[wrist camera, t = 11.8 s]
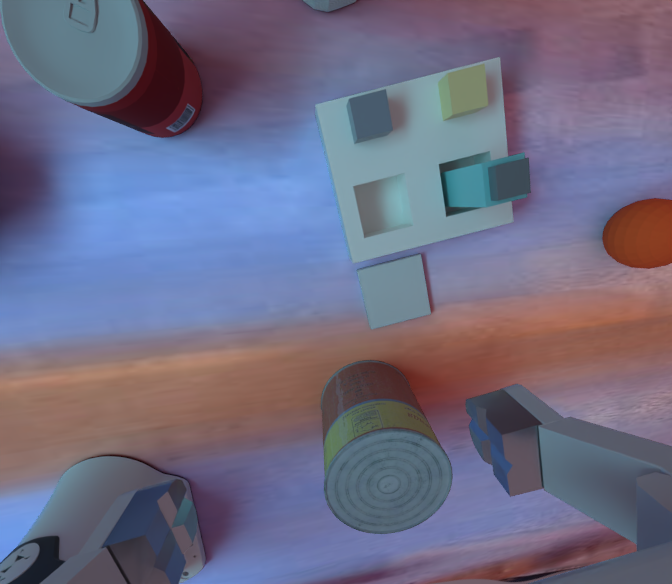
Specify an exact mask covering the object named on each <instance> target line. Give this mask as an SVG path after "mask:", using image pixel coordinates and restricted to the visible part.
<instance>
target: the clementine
mask: <svg viewBox="0 0 672 584" xmlns="http://www.w3.org/2000/svg"><path fill="white" fill-rule="evenodd" d="M602 240H603V244H604V247H605V249H606V251H607V253H608V254H609V255H610V256H611V257H612V258H613V259H615V260H616V261H617V262H619V263H622V264H624V265H627V266H630V267H635V268H648V269H649V268H654V267H660V266H665V265H668V264H670V263H672V200H667V199H657V198H654V199H647V200H642V201H637V202H635V203H632V204H630V205H628V206H626V207H623V208H622V209H620V210H619V211H618V212H616V213H615V214H614V215H613V216H612V217H611V218H610V220H609V221H608V222H607V224H606V226H605V228H604V231H603V237H602Z"/></svg>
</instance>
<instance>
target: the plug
mask: <svg viewBox="0 0 672 584" xmlns="http://www.w3.org/2000/svg"><path fill="white" fill-rule="evenodd" d="M440 177H441V184H442V191H443V198H444V205H445V207H490V206H494V205H498V204H502V203H506V202H510V201H514V200H518V199H522V198H526V197H527V193H531V190H530V174H529V158H525V153H520V154H516V155H512V156H508V157H503V158H499V159H495V160H491V161H487V162H483V163H479V164H475V165H471V166H466V167H462V168H459V169H455V170H451V171H447V172H443V173H440Z"/></svg>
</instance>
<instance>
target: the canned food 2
mask: <svg viewBox="0 0 672 584" xmlns="http://www.w3.org/2000/svg"><path fill="white" fill-rule="evenodd" d="M321 410H322V422H323V446H324V470H325V481H324V493H325V498H326V501H327V504H328V506H329V508H330V510H331V511H332V513H333V514H334V515H335V516H336V517H337V518H338V519H339V520H340V521H341V522H343V523H344V524H346V525H348V526H349V527H351V528H354V529H356V530H359V531H363V532H367V533H374V534H388V533H395V532H400V531H403V530H407V529H409V528H412V527H414V526H416V525H418V524H420V523H422V522H424V521H425V520H427V519H428V518H429V517H431V516H432V515H433V514H434V513H435V512H436V511H437V510H438V509H439V508H440V507H441V505H442V504H443V503H444V501H445V499H446V498H447V496H448V494H449V491H450V488H451V484H452V467H451V463H450V461H449V458H448V456H447V454H446V453H445V451H444V450H443V449H442V447H441V445H440V444H439V442H438V440H437V438H436V436H435V434H434V432H433V430H432V428H431V426H430V425H429V423H428V421H427V419H426V417H425V415H424V413H423V411H422V409H421V407H420V405H419V404H418V402H417V400H416V398H415V396H414V394H413V392H412V390H411V388H410V385H409V383H408V381H407V379H406V378H405V376H404V375H403V374H402V373H401V372H400V371H399V370H398V369H396V368H395V367H393V366H391V365H389V364H387V363H384V362H380V361H373V360H366V361H359V362H355V363H352V364H349V365H347V366H345V367H343V368H342V369H340V370H339V371H337V372H336V373H335V374H334V375H333V376H332V377H331V378H330V379H329V381H328V382H327V384H326V385H325V388H324V390H323V393H322V397H321Z"/></svg>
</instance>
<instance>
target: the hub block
mask: <svg viewBox="0 0 672 584" xmlns="http://www.w3.org/2000/svg"><path fill="white" fill-rule="evenodd" d="M315 116H316V121H317V125H318V129H319V133H320V137H321V142H322V146H323V150H324V154H325V158H326V163H327V167H328V171H329V175H330V179H331V184H332V188H333V192H334V196H335V200H336V205H337V209H338V213H339V217H340V221H341V226H342V230H343V234H344V238H345V243H346V247H347V251H348V255H349V258H350V260H351V261H352V263H357V262H361V261H365V260H369V259H373V258H377V257H380V256H384V255H388V254H392V253H396V252H400V251H404V250H408V249H411V248H415V247H419V246H423V245H427V244H431V243H435V242H439V241H442V240H446V239H450V238H454V237H458V236H462V235H466V234H470V233H473V232H477V231H481V230H485V229H489V228H493V227H497V226H501V225H504V224H508V223H512V222H513V210H512V201H510V202H506V203H502V204H498V205H494V206H490V207H445V205H444V198H443V191H442V184H441V177H440V173H443V172H447V171H451V170H455V169H459V168H462V167H466V166H471V165H475V164H479V163H483V162H487V161H491V160H495V159H499V158H503V157H508V149H507V137H506V125H505V112H504V100H503V88H502V76H501V63H500V57H498V58H494V59H490V60H486V61H482V62H478V63H474V64H471V65H467V66H463V67H459V68H455V69H451V70H447V71H444V72H440V73H436V74H432V75H428V76H424V77H420V78H416V79H413V80H409V81H405V82H401V83H397V84H393V85H389V86H385V87H382V88H378V89H374V90H370V91H366V92H362V93H358V94H355V95H351V96H347V97H343V98H339V99H335V100H331V101H327V102H324V103H320V104H316V110H315Z"/></svg>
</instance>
